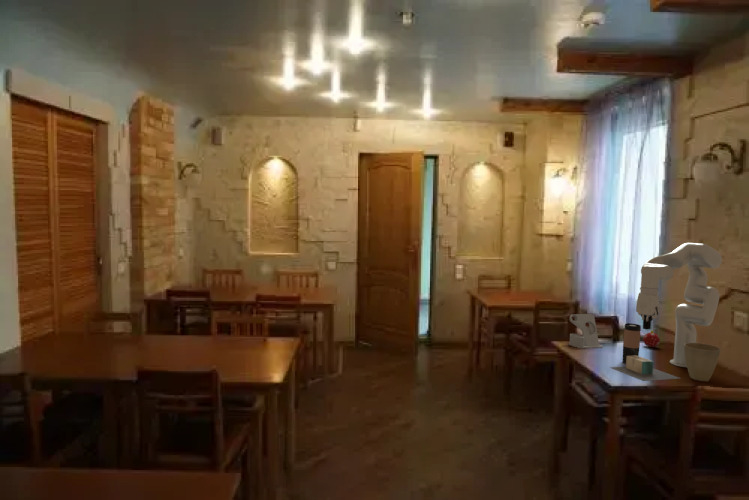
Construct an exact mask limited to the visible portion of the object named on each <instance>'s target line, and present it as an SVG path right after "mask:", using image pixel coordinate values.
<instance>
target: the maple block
mask: <svg viewBox="0 0 749 500" xmlns="http://www.w3.org/2000/svg"><path fill="white" fill-rule="evenodd" d="M625 367H626V368H627V369H630V370H633V371H635V372H638V373H640V374H653V368H654V361H653V360H651V359H648V358H645V357H642V356H637V355H634V356H627V357H626V364H625Z"/></svg>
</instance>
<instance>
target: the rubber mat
mask: <svg viewBox="0 0 749 500" xmlns="http://www.w3.org/2000/svg"><path fill="white" fill-rule="evenodd" d="M609 369H612V370H615V371H617V372H620V373H622V374H624V375H627V376H629V377H632V378H635V379H637V380H640V381H642V382H650V381H652V382H653V381H664V380H665V381H666V380H678V379H681V377H679V376H675V375H673V374H670V373H667V372H665V371H662V370H659V369H657V368H654V367H653V374H640V373H638V372H635V371H633V370H630V369H627V368H626V366H613V367H612V366H611V367H609Z"/></svg>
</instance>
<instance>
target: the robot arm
mask: <svg viewBox="0 0 749 500" xmlns="http://www.w3.org/2000/svg"><path fill="white" fill-rule="evenodd" d="M722 262H723V256H722V255H721V253H720V252H719V251H718V250H717V249H715V248H713V247H712V246H710V245H708V244H706V243H697V242H695V243H694V242H685V243H682V244H681V245H680V246H678V247H677V248H675V249H674V250H672V252H669V253H666V254H661V255H659V256H655V257H652V258H650V259H648V260H647V261H646V262H644V264H643V265H642V267H641V269H640V275H641V276H640V287H639V290H640V292H639V293H638V296H637V300H636V305H635V307H636V308H635V311H636V313H637V314H638V315H639V316H640V317H641V320H642V321H643V322H642V329H644V330H650V329H652V327H651V326H652V321H653V320H656V319H658V315H659V314H660V298H659V283H660V282H659V281H664V282H665V281H666V282H667V281H670V280H672V278H673V277H674V270H675V269H680V268H682V267H684V266H685V265H686V266H687V268H688V273H689V274H688V278H687V279H688V280H687V283H686V286H685V289H684V293H683V299H684V300H685V301H686V302H689V303H690V304H689V303H681V304H680V303H679V304H678V305H677V306H676V307H675V312H674V317H675V335H674V346H673V347H674V350H673V358H672V359H670V360H669V363H670V365H673V366H676V367H681V368H687V364H686V359H685V350H684V344H685V343H697V334H698V333H697V329H696V327H695V325H698V326H703V327H708V326H710V325H711V324H713V321H714V318H715V315H716V313H717V308H718V305H719V301H720V292H719V290H718V289H717V288H716V287H713V286H709V285H708V286H707V283H708V279H709V277H708V274H707V272H706V270H705V268H707V269H717V268H719V267H720V266H721V265H722V264H723V263H722ZM691 303H692V304H691ZM694 304H696V305H694ZM697 304H699V305H697ZM701 305H703V306H701Z"/></svg>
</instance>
